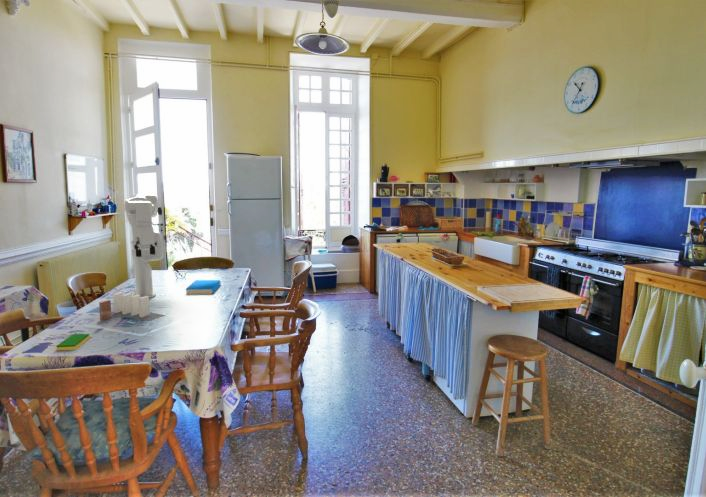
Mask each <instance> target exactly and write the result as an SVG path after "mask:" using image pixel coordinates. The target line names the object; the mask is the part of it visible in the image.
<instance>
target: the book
mask: <svg viewBox="0 0 706 497" xmlns="http://www.w3.org/2000/svg"><path fill="white" fill-rule="evenodd" d="M221 285H222V283H221V280H220V279H205V280H203V279H202V280H201V279H200V280H199V279H195V280H194V281H193V282H192V283H191V284H190V285H188V287H186V288H185V291H186V295H213V294H214V293H215V291H216V290H217V289H218V288H219V287H220V286H221Z"/></svg>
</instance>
